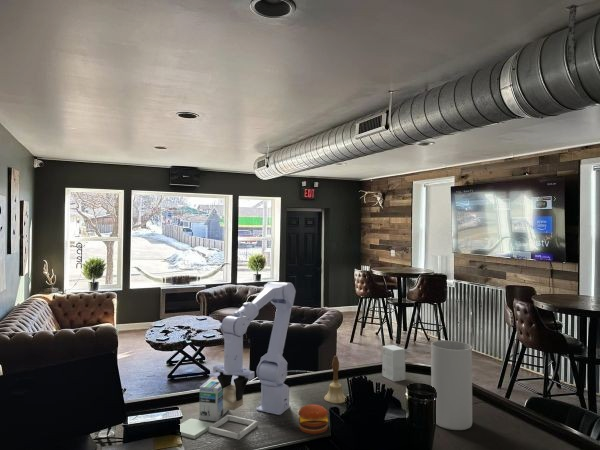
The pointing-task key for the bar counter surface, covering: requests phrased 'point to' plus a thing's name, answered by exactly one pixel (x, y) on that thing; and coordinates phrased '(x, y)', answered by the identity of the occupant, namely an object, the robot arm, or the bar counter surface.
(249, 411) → the bar counter surface
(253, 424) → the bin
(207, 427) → the board
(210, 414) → the light bulb box
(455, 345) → the cylinder vase
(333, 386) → the hand bell
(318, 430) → the hamburger
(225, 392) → the ash block
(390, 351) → the small box
